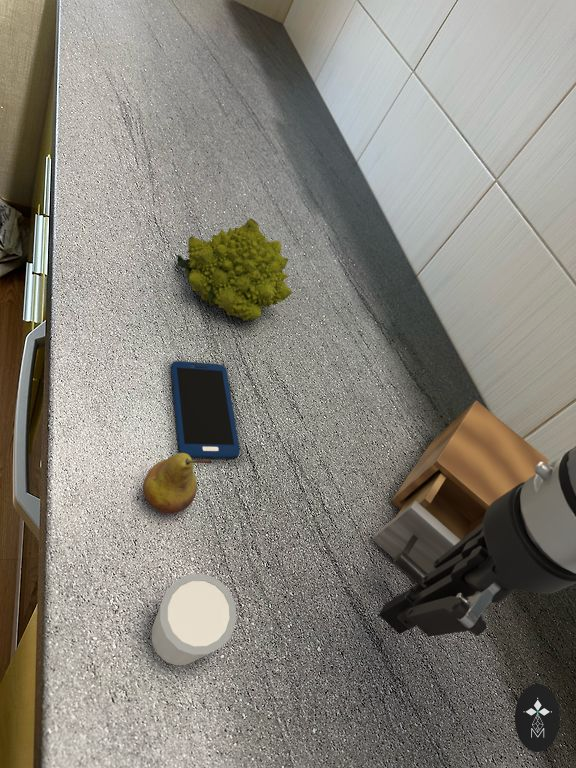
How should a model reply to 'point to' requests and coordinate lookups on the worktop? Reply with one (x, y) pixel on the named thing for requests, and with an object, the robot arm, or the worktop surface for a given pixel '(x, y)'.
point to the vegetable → (237, 270)
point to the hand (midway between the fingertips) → (392, 618)
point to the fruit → (171, 484)
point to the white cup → (193, 619)
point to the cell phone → (204, 410)
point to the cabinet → (475, 458)
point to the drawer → (429, 525)
